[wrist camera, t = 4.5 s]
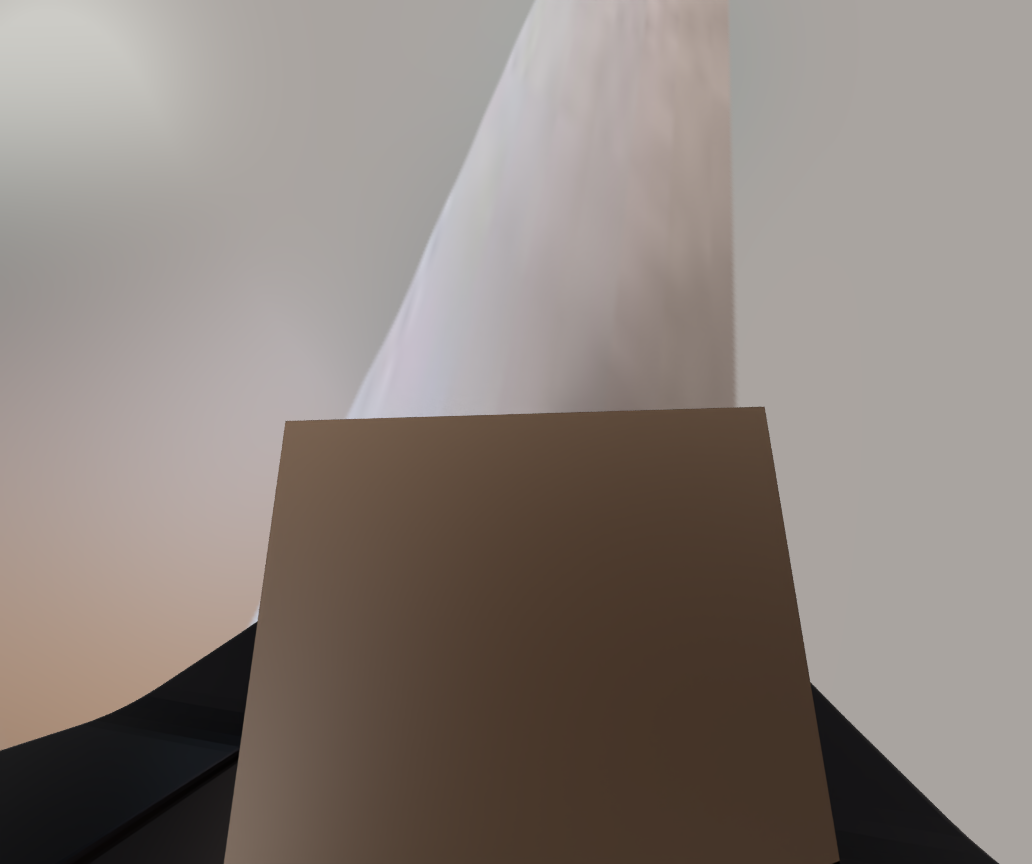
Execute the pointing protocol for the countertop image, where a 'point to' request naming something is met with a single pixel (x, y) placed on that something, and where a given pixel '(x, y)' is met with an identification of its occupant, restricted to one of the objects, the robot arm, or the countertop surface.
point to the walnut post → (530, 648)
